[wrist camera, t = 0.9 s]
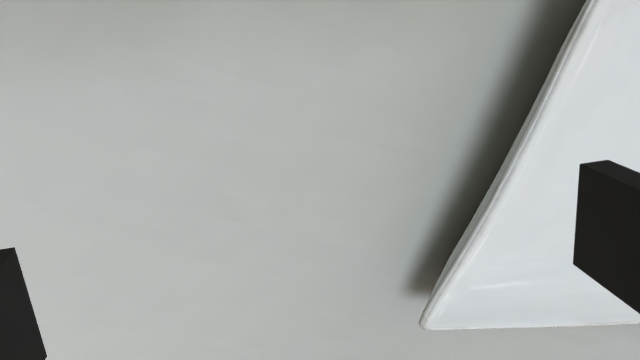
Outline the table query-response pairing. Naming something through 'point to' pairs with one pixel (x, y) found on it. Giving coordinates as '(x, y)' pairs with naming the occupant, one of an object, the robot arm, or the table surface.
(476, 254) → the square plate
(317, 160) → the table surface
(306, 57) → the table surface
